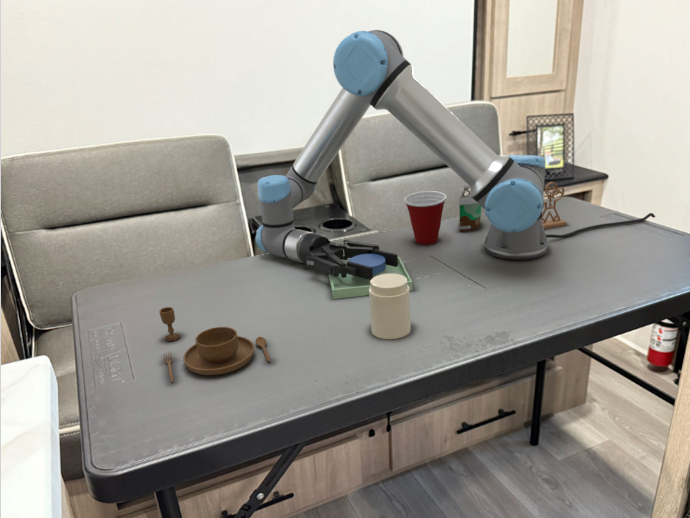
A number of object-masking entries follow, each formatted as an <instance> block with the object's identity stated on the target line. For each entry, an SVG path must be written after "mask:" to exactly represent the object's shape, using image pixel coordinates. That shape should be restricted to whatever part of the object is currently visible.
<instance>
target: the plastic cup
mask: <svg viewBox="0 0 690 518" xmlns="http://www.w3.org/2000/svg"><path fill="white" fill-rule="evenodd" d="M446 199H447V194H446V193H444V192H441V191H438V190H436V191H435V190H422V191H416V192H413V193H410V194H408V195H406V196H405V197H404V198H403V202H404V203H405V205H406V208H407V211H408V214H409V219H410V224H411V228H412V231H413V238H414V240H415V243H417V244H419V245H422V246H423V245H425V246H426V245H427V246H428V245H433V244H436V243H437V242H438V240H439V236H440V229H441V224H442V216H443V211H444V206H445V202H446Z"/></svg>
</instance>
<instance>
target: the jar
mask: <svg viewBox="0 0 690 518" xmlns="http://www.w3.org/2000/svg"><path fill="white" fill-rule="evenodd" d="M407 283H408V282H407V278H406V277H404V276H403V275H400V274H381V275H378V276H375V277H374V278H372V279H371V280H370V284H371V286H370V288H369V295H368V296H369V313H370V314H369V315H370V327H371V333H372V336H374V337H376V338H379V339H382V340H397V339H398V340H399V339H401V338H404V337H406V336H408V335H409V334H410V333H411V331H412V323H411V322H412V320H411V319H412V317H411V291H410V288H409V286H408V285H407Z"/></svg>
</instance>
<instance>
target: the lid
mask: <svg viewBox="0 0 690 518" xmlns="http://www.w3.org/2000/svg"><path fill="white" fill-rule="evenodd" d="M349 261H350V262H353V263H357V264H361V265H365V266H369V267H372V269H373V275H374V274H378V273H380V272H382V271H384V270H385V268H386V262H385V258H384V257H383V256H381V255H377V254H361V255H357V256H354V257H352V258H349V260H348V262H349Z"/></svg>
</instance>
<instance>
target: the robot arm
mask: <svg viewBox="0 0 690 518" xmlns="http://www.w3.org/2000/svg"><path fill="white" fill-rule="evenodd" d="M332 64H333V65H332V66H333V73H334V76H335V79H336V81H337V83H338V84H339V86H340V87H341V89H340V91H339V92H338V93H337V96H336V97H335V98H334V100H333V102H332V103H331V104H330V107H329V108H328V109H327V111H326V112H325V114H324V115H323V117H322V119H321V121H320V122H319V124H317V126H316V128H315V130H314V131H313V133H312V135H310V137H309V139H308V140H307V142H306V144H305V145H304V146H303V148H302V150H301V152H300V153H299V154H298V156H297V158H296V159H295V161H294V162H293V163H292V165H291V167H290V168H289V170H288V172H287V173H286V175H281V174H273V175H267V176H263V177H261V178H260V179H258V181H257V197H258V202H259V208H260V214H261V223H262V224H261V225H260V226H259V227H258V228H257V229H256V235H255V237H254V239H255V244H256V246H257V248H258V249H259V250H260V251H262V252H264V253H266V254H269V255H270V256H273V257H280V258H284V259H288V260H291V261H294V262H299V263H300V264H305V265H306V266H307V268H309V269H315V270H317V271H320V272H322V273H325V274H327V275H328V276H329V275H331V276H334V277H337V276H339V274H341V277H342V278H346V277H347V274H349V275H353V276H357V277H360V278H364V279H368V280H371V279H372V278H373V269H372V267H369V266H365V265H361V264H357V263H353V262H350V261H349V260H348V259H351V258H352V257H354V256H357V255H361V254H377V255H381V256H383V257H384V258H385V262H386V265H390V266H394V267H397V266H398V257H399V255H398V254H397V253H392V252H388V251H384V250H380V245H379V244H376V243H374V244H373V243H368V242H367V243H366V242H359V241H352V240H349V239H343V243H337V242H331V241H330V240H329V238H328V237H327V236H326V235H324V234H319V233H315V232H312V231H307V230H302V229H298V228H295V218H294V217H295V216H294V209H295V208H296V207H297V206H299V205H300V204H301V203H303V202H305V201H306V200H307V199H309V198H310V197H311V196H312V195H313V194H314V192H315V190H316V189H317V188H316V187H317V184H318V182H319V181H320V179H321V178H322V176H323V175H324V174H325V172H326V170H327V169H328V168H329V166H331V163H332V162H333V161H334V159H335V158H336V156H337V155H338V153H339V152H340V151H341V150H342V148H343V146H344V145H345V143H346V142H347V140H348V139H349V137H350V136H351V134H352V133H353V131H354V130H355V128H356V127H357V126H358V124H359V123H360V122H361V120H362V118H363V117H364V116H365V114H366V113H367V112H368V110H369V108H370V107H372V108H373V109H374V110H376V111H378V110H379V111H381V110H386V111H388V113H390V115H392V116H393V117H394V118H395V119H396V120H397V121H398V122H400V123H401V124H402V125H403V126H404V127H405V128H406V129H407V130H408V131H410V133H412V135H414V136H415V138H417V139H418V140H419V141H420V142H421V143H422V144H424V145H425V147H427V148H428V149H429V150H430V151H431V152H432V153H433V154H434V155H435V156H437V157H438V158H439V159H440V160H441V161H442V162H443V163H444V164H445V165H446V166H447V167H448V168H449V169H451V171H452V172H454V173H455V174H456V175H457V176H458V177H459V178H461V180H462V181H464V182H465V184H467V186H470V191H471V197H472V198H473V199H474V200H475V201H476V202H477V203H478V204H479V205H480V206H482V207H481V208H482V209H483V210H484V212H485V215H486V218H487V220H488V221H489V223H490V226H489V228H488V231H487V234H486V235H485V237H484V239H483V244H484V251H485V252H486V253H487V254H488V255H490V256H492V257H495V258H497V259H502V260H508V261H509V260H510V261H526V260H528V261H529V260H534V259H537V258H540V257H543V256H544V255H546V254H547V252H548V246H549V242H548V238H549V239H550V238H551V239H552V238H555V239H564V238H568V237H572V236H573V235H576V234H579V233H582V232H586V231H590V230H594V229H600V228H605V227H614V226H621V225H622V226H623V225H628V224H635V223H641V222H644V221H646V220H648V218H656V215H655V214H654V213H653V212H649V213H648V214H646V215H645V216H644V217H641V218H636V219H631V220H630V219H629V220H623V221H615V222H607V223H601V224H595V225H590V226H586V227H582V228H579V229H576V230H573V231H571V232H568V233H564V234H551V233H549V234H546V231H545V230H546V229H544V227H543V223H542V221H543V220H542V213H543V209H544V208H543V206H544V207H545V204H543V202H545V201H544V200H545V198H543V196H544V192H545V177H546V171H547V167H546V159H545V158H544V157H543V156H541V155H532V154H504V155H499V154H497V153H496V152H495V151H493V150H492V149H491V148H490V147H489V146H488V144H486V143H485V142H484V141H483V140H482V139H481V138H480V137H479V136H477V134H475V133H474V132H473V131H472V130H471V129H470V128H469V127H468V126H467V125H466V124H465V123H464V122H463V121H461V120H460V119H459V118H458V117H457V116H456V115H455V114H454V113H453V112H452V111H451V110H449V108H448V107H446V106H445V105H444V103H442V102H441V101H440V100H439V99H438V98H437V97H436V96H434V94H433V93H432V92H430V91H429V89H427V88H426V87H425V86H424V85H423V84H422V83H421V82H420V81H418V80H417V79H416V77H415V76H414V65H412V64H411V62H409V60H407V59H406V58H405V57H404V51H403V48H402V46H401V44H400V42H399V40H398V39H397V38H396V37H395V36H394V35H393V34H391V33H389V32H387V31H384V30H381V29H374V30H359V31H354V32H352V33H350V34H349V35H347V36H346V37H344V38H343V39H341V41H340V42H339V43H338V45H337V47H336V49H335V51H334V55H333V61H332ZM347 260H348V261H347ZM345 261H347V265H346V263H345Z"/></svg>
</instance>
